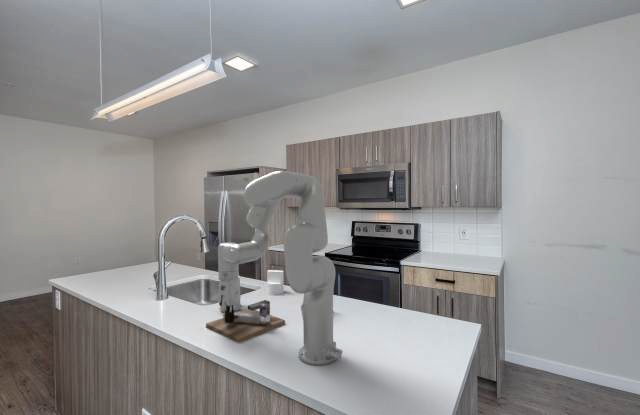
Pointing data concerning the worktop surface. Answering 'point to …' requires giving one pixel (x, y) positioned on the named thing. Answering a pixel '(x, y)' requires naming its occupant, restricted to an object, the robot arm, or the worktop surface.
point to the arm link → (253, 316)
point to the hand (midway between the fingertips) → (229, 321)
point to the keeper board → (245, 325)
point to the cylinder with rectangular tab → (275, 282)
